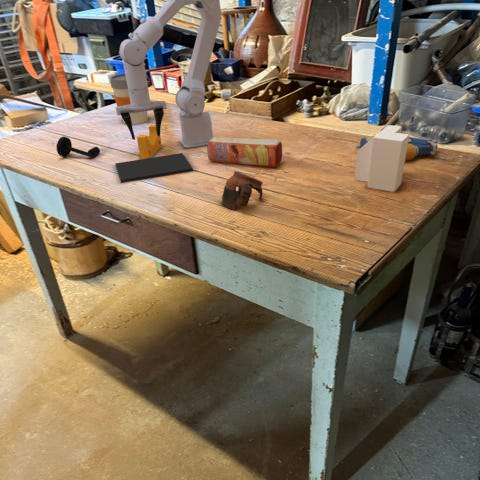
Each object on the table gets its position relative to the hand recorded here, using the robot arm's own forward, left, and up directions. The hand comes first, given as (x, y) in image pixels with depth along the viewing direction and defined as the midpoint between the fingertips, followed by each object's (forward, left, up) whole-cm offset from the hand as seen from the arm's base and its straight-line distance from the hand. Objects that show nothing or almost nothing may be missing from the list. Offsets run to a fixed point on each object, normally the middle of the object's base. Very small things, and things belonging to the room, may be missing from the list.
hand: (146, 136), depth 143 cm
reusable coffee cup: (-1, -38, -5) cm, 38 cm away
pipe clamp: (0, 0, -5) cm, 5 cm away
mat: (+1, +14, -5) cm, 15 cm away
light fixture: (+19, -8, -5) cm, 21 cm away
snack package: (-24, +22, -5) cm, 33 cm away
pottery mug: (-15, +48, -5) cm, 51 cm away
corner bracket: (-51, +49, -5) cm, 71 cm away
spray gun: (-65, +34, -5) cm, 74 cm away
